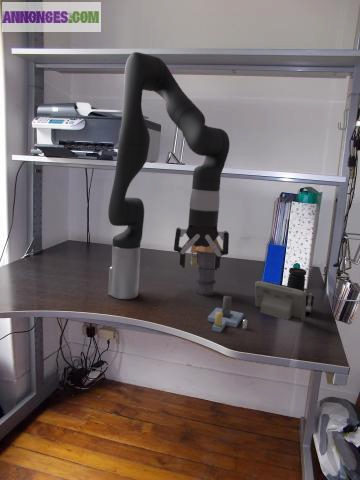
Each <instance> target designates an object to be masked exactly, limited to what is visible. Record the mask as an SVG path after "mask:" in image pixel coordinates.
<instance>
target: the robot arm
mask: <svg viewBox="0 0 360 480" xmlns="http://www.w3.org/2000/svg"><path fill="white" fill-rule="evenodd" d="M144 91H149V92H155V93H156V94H157V95H159V96H160V97H162V99H163V100H164V102H165V110H166V112H167V113H166V114H167V115H168V117H169V118H170V120H171V121H172V122H173V123H174V125H175V126H176V127H177V128H178V129H179V130H180V131H181V133H182V135H183V138H184V139H185V142H186V144H187V147H188V148H189V149H190V150H191V151H192V152H193V153H194V154H196V155H197V156H201V157H203V156H204V161H203V163H202V164H201V165H199V166H196V167H195V168H194V169H193V173H192V174H193V175H192V184H191V185H192V186H191V193H190V199H189V211H188V226H187V228H186V229H183V228H180V227H177V228H176V229H175V236H174V243H173V251H174V252H178V253H179V266H181V268H182V269H185V265H186V253H187V251H188V250H189V249H191V247H192V245H195V246H198V247H199V246H203V247H208V246H211V247H212V249H213V250H214V252H215V253H216V255H215V257H214V270H215V271H218V269H220V265H221V258H222V256H224V255H225V256H226V255H228V254H229V242H230V240H229V239H230V233H229V231H228V230H224V231H218V221H219V212H220V211H219V210H220V203H221V201H220V199H221V197H220V190H221V189H220V188H221V175H222V172H223V169H224V167H225V164H226V161H227V157H228V156H229V152H230V151H229V150H230V137H229V134H228V133H227V132H226V131H225V130H223V129H221V128H217V127H212V126H208V125H206V117H205V115H204V113H203V112H202V111H201V110H200V108H199V107H198V106H197V105H195V103H194V102H193V101H192V100H191V99H190V98H189V97H188V96H187V95H186V93H185V92H184V91H183V89H182V87H180V85H179V83H178V82H177V80H176V79H175V77H174V76H173V74H172V72H171V71H170V69H169V68H168V66H167V65H166V63H165V62H164V61H163V59H161V58H160V57H157V56H153V55H149V54H146V53H144V52H138V51H134V52H132V53H130V54H129V56H128V58H127V60H126V62H125V67H124V75H123V100H122V113H121V114H122V115H121V123H120V131H119V138H118V145H117V155H116V162H115V163H116V165H115V172H114V177H113V179H114V180H113V184H112V189H111V193H110V198H109V204H108V214H107V215H108V221H109V223H110V224H111V225H112V226H114V227H115V226H116V227H126V229H125V230H124V231H122V232H121V233H118V234H116V235H115V236H113V238H112V248H111V249H112V250H111V266H110V267H109V268H108V290H107V291H108V293H107V294H108V295H109V296H111V297H113V298H115V299H118V300H119V299H120V300H132V299H135V298H137V297H138V295H139V286H140V284H139V283H140V261H141V259H140V258H141V243H142V239H143V230H144V221H145V206H144V203H143V201H142V199H141V198H140V197H127V192H128V189H129V187H130V185H131V183H132V182H133V180H134V179H135V177H136V176H137V175H138V174H139V173H140V171H141V170H142V169H143V168H144V166H145V164H146V162H147V160H148V156H149V151H150V150H149V149H150V141H151V138H150V137H151V136H150V131H149V129H148V125H147V123H146V120H145V117H144V115H143V109H142V99H143V92H144ZM185 234H186V236H187V237H188V240H187V241H185V243H184V244H183V246H182V247H181V246H180V241H181V238H182V237H184V235H185ZM218 237H220V239H221V240H222V250H219V249H218V247H217V246H216V244H215V243H214V240H215V239H217V238H218Z"/></svg>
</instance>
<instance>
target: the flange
mask: <svg viewBox="0 0 360 480" xmlns="http://www.w3.org/2000/svg"><path fill="white" fill-rule="evenodd" d="M243 319H244V313H243V312H238V311H234V310H231V311H230V319H229V318H225V317H223V313H222V308H221V307H215V308H214V309H213V311H212V312H210V314H209V315H208V316H207V322H211V323H213V325H212V326H211V331H214V332H217V333H221V332H223V330H224V328H225V327H226V326H228V327H232V328H237V327H238V326H239V324H240V322H241V321H242V320H243Z"/></svg>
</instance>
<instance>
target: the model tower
mask: <svg viewBox="0 0 360 480" xmlns="http://www.w3.org/2000/svg"><path fill="white" fill-rule="evenodd" d="M214 243H215V244H216V246H217V247H218V249H219V250H222V249H223V247H221V245H220V243H219V241H218V239H217V238H216V239H215V240H214ZM190 253H191V258H190V259H191V261H190V265H191V267H193V268H198V269H197V270H198V271H197V278H196V279H195V282H196V283H197V286H196V289H197V290H196V292H197V295H200V296H204V297H211V296H213V295H215V293H213V291H214V285H215V283H217V281H216V280H215V273H216V270H214V257H215V255H216V253H215V252H214V250H213V249H212V247H211V246H208V247H203V246H199V247H198V246H195V245H192V246H191V247H190ZM194 254H196V255H194Z"/></svg>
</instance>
